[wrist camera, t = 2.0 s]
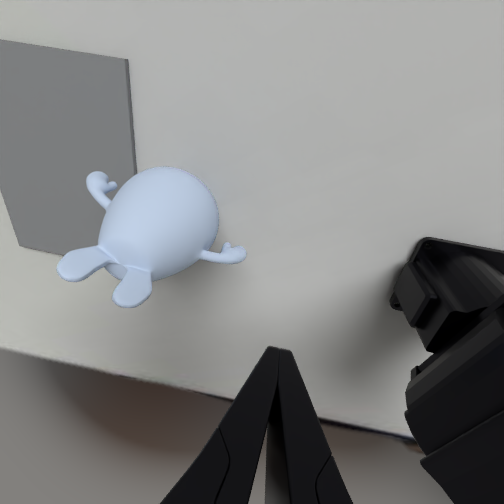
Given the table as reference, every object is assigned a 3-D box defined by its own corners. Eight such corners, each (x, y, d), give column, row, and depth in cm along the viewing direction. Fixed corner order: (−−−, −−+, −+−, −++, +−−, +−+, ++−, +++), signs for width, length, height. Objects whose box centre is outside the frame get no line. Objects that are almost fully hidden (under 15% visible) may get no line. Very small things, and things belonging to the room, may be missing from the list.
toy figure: (120, 194, 22) (-36, 285, 12) (140, 118, 19) (-48, 153, 9) (238, 257, 24) (187, 387, 13) (275, 194, 20) (245, 302, 10)
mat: (127, 59, 18) (124, 58, 17) (144, 269, 26) (142, 271, 25) (-47, 32, 18) (-54, 31, 18) (23, 243, 27) (19, 245, 26)
